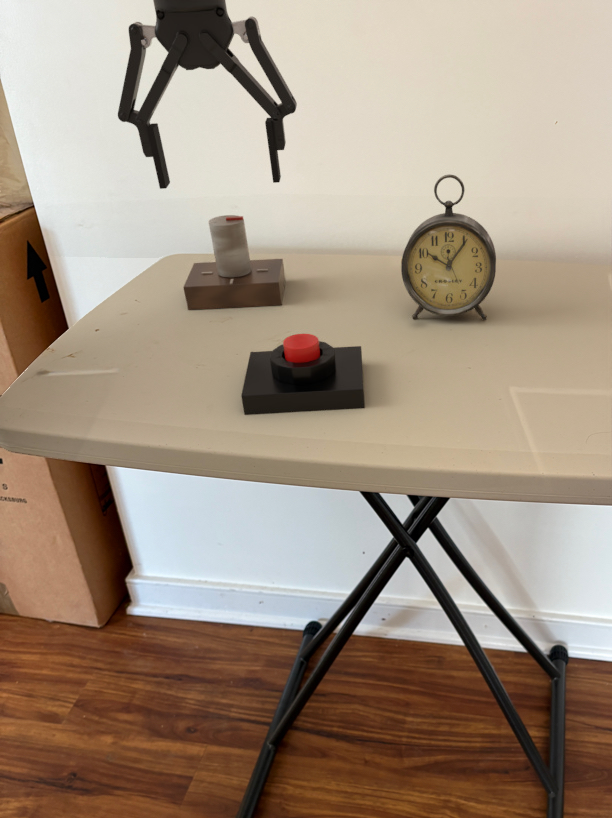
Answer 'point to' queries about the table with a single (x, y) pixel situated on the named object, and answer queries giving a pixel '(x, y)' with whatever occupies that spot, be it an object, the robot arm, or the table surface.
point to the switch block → (304, 381)
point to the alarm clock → (449, 262)
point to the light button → (301, 348)
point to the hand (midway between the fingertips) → (221, 183)
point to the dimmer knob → (230, 246)
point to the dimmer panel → (235, 286)
